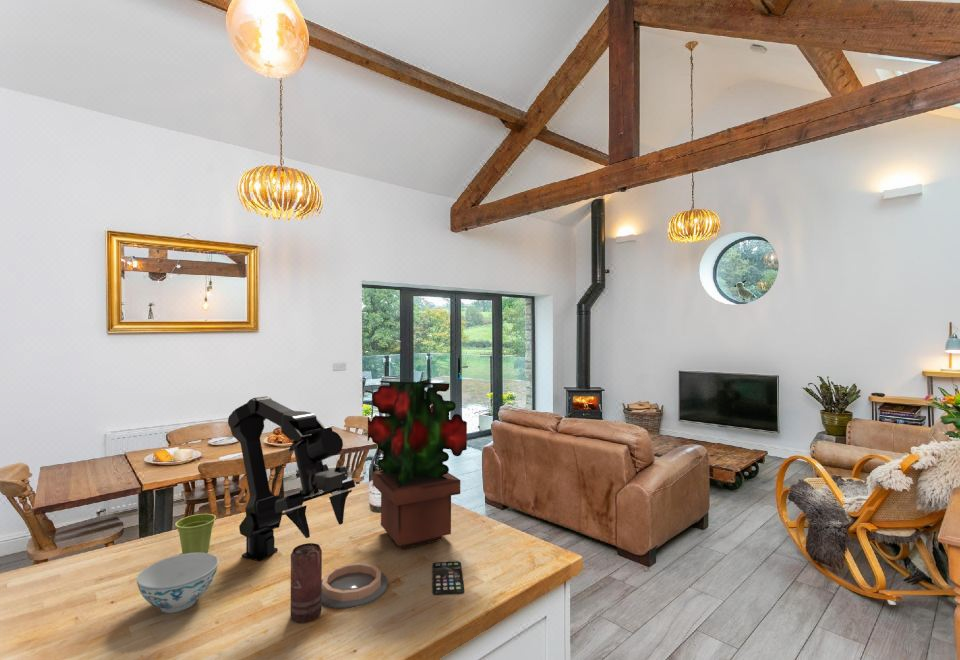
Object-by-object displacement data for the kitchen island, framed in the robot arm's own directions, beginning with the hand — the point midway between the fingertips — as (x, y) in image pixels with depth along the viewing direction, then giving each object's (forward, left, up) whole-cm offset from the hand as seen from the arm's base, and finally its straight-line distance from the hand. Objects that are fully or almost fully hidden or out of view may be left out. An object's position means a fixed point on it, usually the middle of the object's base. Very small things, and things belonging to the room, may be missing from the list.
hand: (325, 530), depth 110 cm
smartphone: (+26, +13, -14) cm, 32 cm away
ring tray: (+7, +1, -13) cm, 15 cm away
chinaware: (-25, -17, -13) cm, 33 cm away
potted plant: (+8, +31, -13) cm, 35 cm away
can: (+4, -11, -13) cm, 17 cm away
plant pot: (-43, +2, -13) cm, 45 cm away
